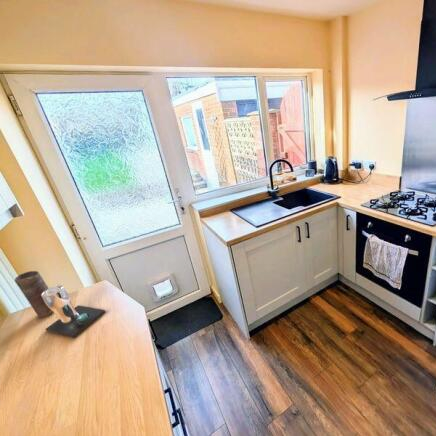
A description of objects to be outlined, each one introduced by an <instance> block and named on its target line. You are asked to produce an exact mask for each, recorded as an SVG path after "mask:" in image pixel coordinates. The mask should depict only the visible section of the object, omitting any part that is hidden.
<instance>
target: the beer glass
mask: <svg viewBox="0 0 436 436" xmlns="http://www.w3.org/2000/svg"><path fill="white" fill-rule="evenodd" d="M48 288H49V289H47V290H45V291H44V292H43V293H42V294H41V296H42V298H43V300H44V302H45V303H46V305H47V306H48V307H49V308H50V309H51V310H52V311H53V312H52V313H54V314H55V315H56V316H57V317H58V319H60V322H61V324H68V323H71V322H73V321H74V320H76V319H77V318H78V317H79V313H78V312H77V311H76V310H75V309H74V308H75V306H74V305H73V302H72V301H73V300H72V298H71V296H70V294H69V292H68V291H67V290H66V288H65V287H64V286H63V285H62V284H56V285H53V286H51V287H48Z"/></svg>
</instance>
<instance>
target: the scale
mask: <svg viewBox="0 0 436 436" xmlns="http://www.w3.org/2000/svg"><path fill="white" fill-rule="evenodd" d="M74 309H75V310H76V311H77V312H78V313H79V316H80V315H81V314H84V313H86V314H87V315H88V318H87V319H86V320H84V321H82V322H79V320H78V318H77V319H76V320H74V321H73V322H71V323H68V324H61V322H60V319H59V318H58V319H57V320H55V321H54V322H53V323H51V324H50V325H48V327H46V328H45V329H44V330H45V331H46V332H48V333H52V334H56V335H60V336H64V337H68V338H72V339H76V338H77V337H78V336H79V335H80V334H81V333H83V332H84V331H85V330H86V329H88V328H89V327H90V326H91V325H92V324H94V323H95V322H96V321H97V320H98V319H100V318H101V317H102V316H104V315H105V314H106V311H105V309H101V308H95V307H89V306H83V305H77V306H74Z"/></svg>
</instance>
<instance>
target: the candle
mask: <svg viewBox="0 0 436 436" xmlns="http://www.w3.org/2000/svg"><path fill="white" fill-rule="evenodd" d="M14 282H15V284H16V285H17V287H18V288H19V289H20V291H21V292H22V294H23V295H24V297H25V298H26V300H27V301H28V303H29V304H30V306H31V308H32V309H33V311H34V312H35V314H36V316H37V317H38V318H42V317H47V316H49V315H50V314H52V313H54V312H53V311H52V310H51V309H50V308H49V307H48V306H47V305H46V303H45V302H44V300H43V298H42V296H41V294H42V293H43V292H44V291H45V290H47V289H49V288H50V287H49V286H48V285H47V283H46V282H45V280H44V278H43V277H42V275H41V273H40V272H39V271H37V270H31V271H27V272H23V273H20V274H19V275H18V276H16V277H15V278H14Z"/></svg>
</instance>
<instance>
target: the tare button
mask: <svg viewBox="0 0 436 436" xmlns="http://www.w3.org/2000/svg"><path fill="white" fill-rule="evenodd" d="M87 318H88V315H87V314H86V313H84V314H81V315H80V316H79V317H78V320H79V322H82V321H84V320H86V319H87Z"/></svg>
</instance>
